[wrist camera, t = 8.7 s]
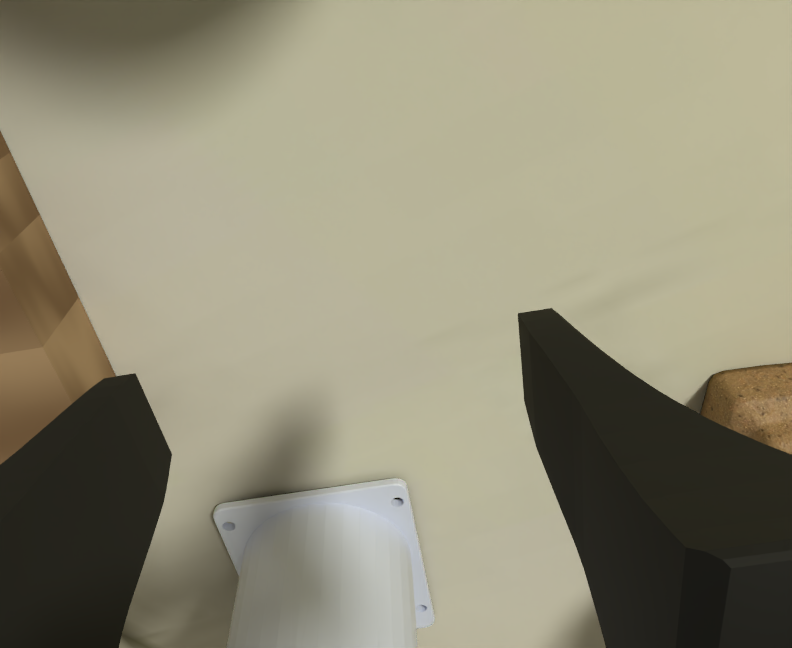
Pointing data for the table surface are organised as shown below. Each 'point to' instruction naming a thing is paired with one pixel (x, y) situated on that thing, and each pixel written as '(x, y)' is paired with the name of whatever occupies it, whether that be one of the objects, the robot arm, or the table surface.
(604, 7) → the table surface
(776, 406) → the candle holder
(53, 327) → the brown slotted holder
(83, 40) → the table surface
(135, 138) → the table surface
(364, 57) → the table surface
